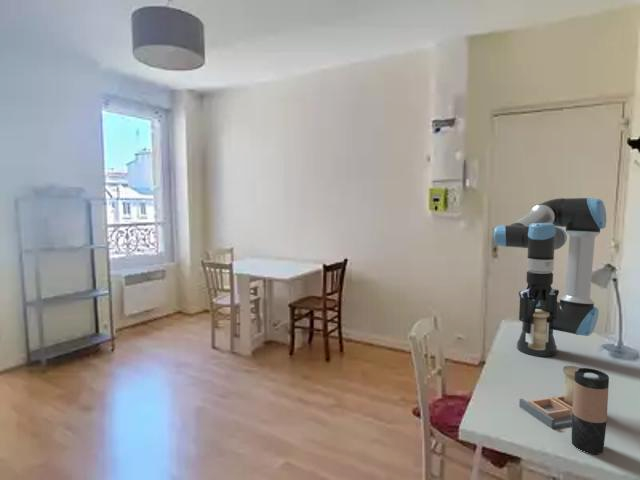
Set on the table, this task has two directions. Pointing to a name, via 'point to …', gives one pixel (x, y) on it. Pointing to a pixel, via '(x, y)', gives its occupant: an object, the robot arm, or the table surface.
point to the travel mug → (589, 410)
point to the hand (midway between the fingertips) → (536, 341)
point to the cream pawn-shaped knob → (539, 329)
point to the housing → (554, 404)
